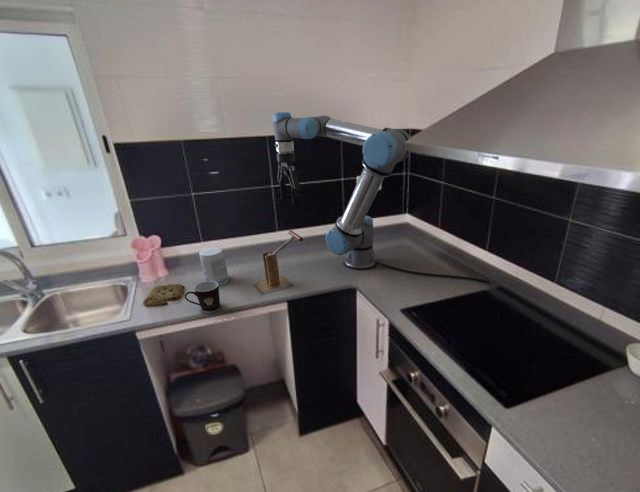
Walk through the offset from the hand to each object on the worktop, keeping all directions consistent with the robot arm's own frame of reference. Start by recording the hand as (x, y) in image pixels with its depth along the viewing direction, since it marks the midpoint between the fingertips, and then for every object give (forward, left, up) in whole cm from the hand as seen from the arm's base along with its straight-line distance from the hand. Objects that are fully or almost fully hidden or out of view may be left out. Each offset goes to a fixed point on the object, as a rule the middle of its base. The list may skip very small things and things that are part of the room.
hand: (289, 201), depth 173 cm
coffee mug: (+26, +48, -29) cm, 62 cm away
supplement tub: (+30, +25, -29) cm, 49 cm away
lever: (0, +24, -13) cm, 28 cm away
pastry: (+47, +38, -29) cm, 67 cm away
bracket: (+5, +28, -29) cm, 40 cm away
